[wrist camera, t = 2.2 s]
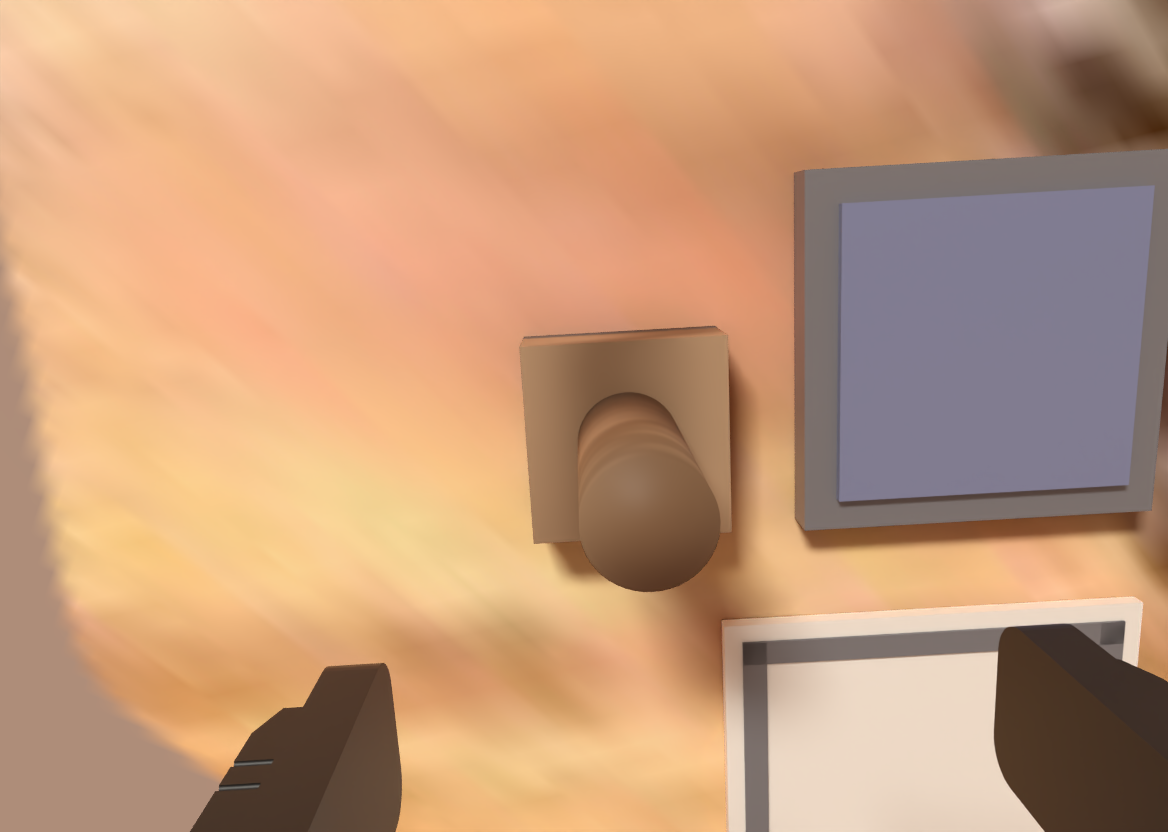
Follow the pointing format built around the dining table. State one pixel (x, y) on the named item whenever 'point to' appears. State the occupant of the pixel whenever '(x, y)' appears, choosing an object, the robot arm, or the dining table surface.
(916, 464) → the ink pad
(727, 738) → the marked card
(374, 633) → the dining table surface
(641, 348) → the stamp
